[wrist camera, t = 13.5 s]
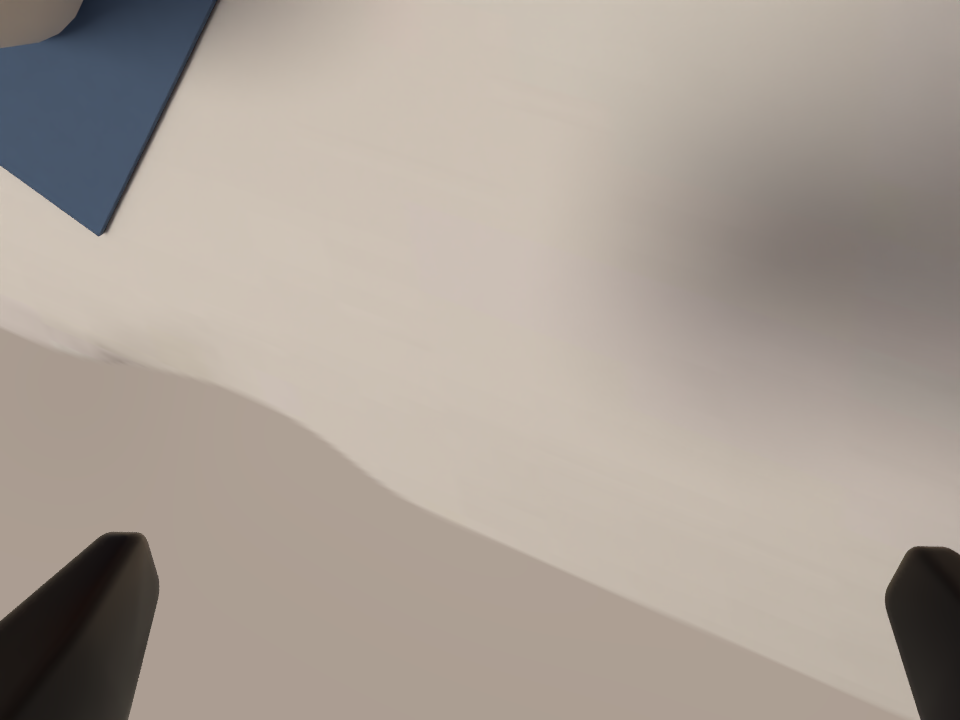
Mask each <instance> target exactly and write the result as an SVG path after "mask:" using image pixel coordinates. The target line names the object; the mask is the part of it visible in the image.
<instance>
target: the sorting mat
mask: <svg viewBox="0 0 960 720" xmlns="http://www.w3.org/2000/svg"><path fill="white" fill-rule="evenodd" d="M216 1H217V0H83V2H82V4H81V6H80V8H79V10H78V12H77V14H76V16H75V18H74V19H73V20H72V21H71V22H70V23H69V24H68V25H67V26H66V27H65V28H64V29H63V30H62V31H61V32H60V33H59V34H57V35H55V36H52V37H50V38H48V39H46V40H44V41H41V42H39V43H32V44H25V45H19V46H12V47H5V48H0V166H2V167H3V168H5V169H6V170H7V171H9V172H10V173H11V174H13V175H14V176H16V177H17V178H18V179H20V180H21V181H23V182H24V183H25V184H27V185H28V186H29V187H31V188H32V189H34V190H35V191H36V192H38V193H39V194H41V195H42V196H43V197H45V198H46V199H47V200H49V201H50V202H52V203H53V204H54V205H56V206H57V207H59V208H60V209H61V210H63V211H64V212H65V213H67V214H68V215H70V216H71V217H72V218H74V219H75V220H77V221H78V222H79V223H81V224H82V225H83V226H85V227H86V228H88V229H89V230H90V231H92V232H93V233H95V234H96V235H97V236H100V235H102V234H103V232H104V230H105V228H106V226H107V224H108V222H109V220H110V218H111V216H112V214H113V212H114V210H115V208H116V206H117V204H118V202H119V200H120V197H121V195H122V193H123V191H124V189H125V187H126V185H127V183H128V181H129V179H130V177H131V175H132V173H133V171H134V169H135V167H136V165H137V163H138V161H139V159H140V157H141V155H142V152H143V150H144V148H145V146H146V144H147V142H148V140H149V138H150V136H151V134H152V132H153V130H154V128H155V126H156V124H157V122H158V120H159V118H160V116H161V114H162V112H163V110H164V108H165V105H166V103H167V101H168V99H169V97H170V95H171V93H172V91H173V89H174V87H175V85H176V83H177V81H178V79H179V77H180V75H181V73H182V71H183V69H184V67H185V65H186V63H187V60H188V58H189V56H190V54H191V52H192V50H193V48H194V46H195V44H196V42H197V40H198V38H199V36H200V34H201V32H202V30H203V28H204V26H205V24H206V22H207V20H208V18H209V15H210V13H211V11H212V9H213V7H214V5H215V3H216Z"/></svg>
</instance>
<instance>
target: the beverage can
mask: <svg viewBox="0 0 960 720" xmlns="http://www.w3.org/2000/svg"><path fill="white" fill-rule="evenodd" d="M82 2H83V0H0V48H5V47H12V46H19V45H25V44H32V43H39V42H41V41H44V40H46V39H48V38H50V37H52V36H55V35H57V34H59V33H60V32H61V31H62V30H63V29H64V28H65V27H66V26H67V25H68V24H69V23H70V22H71V21H72V20H73V19H74V18H75V16H76V14H77V12H78V10H79V8H80V6H81V4H82Z"/></svg>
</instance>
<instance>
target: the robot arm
mask: <svg viewBox="0 0 960 720" xmlns="http://www.w3.org/2000/svg"><path fill="white" fill-rule="evenodd" d="M158 595H159V579H158V575H157V572H156V568H155V565H154V562H153V558H152V555H151V551H150V548H149V545H148V542H147V539H146V538H145V536H144V535H142V534H141V533H137V532H109V533H106V534H104V535H102V536H100V537H99V538H98V539H96V540H95V541H94V542H93V543H92V544H90V545H89V546H88V547H87V548H86V549H85V550H83V551H82V552H81V553H80V554H79V555H78V556H77V557H75V558H74V559H73V560H72V561H71V562H69V563H68V564H67V565H66V566H65V567H64V568H62V569H61V570H60V571H59V572H58V573H56V574H55V575H54V576H53V577H52V578H50V579H49V580H48V581H47V582H46V583H45V584H43V585H42V586H41V587H40V588H39V589H38V590H36V591H35V592H34V593H33V594H32V595H31V596H30V597H28V598H27V599H26V600H25V601H23V602H22V603H21V604H20V605H19V606H18V607H17V608H15V609H14V610H13V611H12V612H10V613H9V614H8V615H7V616H6V617H5V618H4V619H2V620H1V621H0V720H128V717H129V714H130V710H131V706H132V702H133V698H134V694H135V690H136V686H137V682H138V678H139V674H140V670H141V666H142V662H143V657H144V653H145V649H146V645H147V641H148V637H149V633H150V629H151V625H152V621H153V617H154V612H155V609H156V604H157V600H158ZM885 605H886V610H887V614H888V617H889V620H890V623H891V627H892V630H893V633H894V636H895V639H896V643H897V646H898V649H899V652H900V655H901V659H902V662H903V665H904V668H905V671H906V675H907V678H908V681H909V684H910V687H911V691H912V694H913V697H914V700H915V703H916V706H917V710H918V713H919V716H920V719H921V720H960V555H959V554H958V553H956V552H955V551H953V550H951V549H949V548H946V547H928V546H917V547H913V548H911V549H910V550H909V551H908V552H907V553H906V554H905V556H904V558H903V560H902V562H901V563H900V565H899V567H898V569H897V571H896V572H895V574H894V576H893V578H892V580H891V582H890V583H889V585H888V587H887V589H886V594H885Z"/></svg>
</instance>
